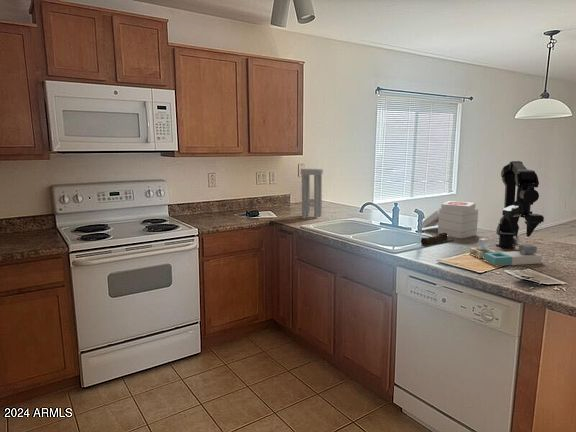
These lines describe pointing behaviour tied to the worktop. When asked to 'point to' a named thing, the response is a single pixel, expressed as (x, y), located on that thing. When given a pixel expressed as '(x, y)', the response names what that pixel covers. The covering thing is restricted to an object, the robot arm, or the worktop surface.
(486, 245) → the pin
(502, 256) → the dock
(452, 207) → the pizza boxes
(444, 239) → the hand tool
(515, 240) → the white blue elongated body
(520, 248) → the gray rectangular block
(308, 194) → the stool
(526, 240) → the worktop surface
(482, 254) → the frame
